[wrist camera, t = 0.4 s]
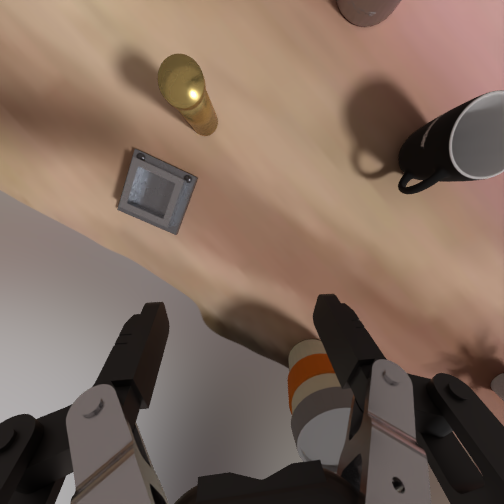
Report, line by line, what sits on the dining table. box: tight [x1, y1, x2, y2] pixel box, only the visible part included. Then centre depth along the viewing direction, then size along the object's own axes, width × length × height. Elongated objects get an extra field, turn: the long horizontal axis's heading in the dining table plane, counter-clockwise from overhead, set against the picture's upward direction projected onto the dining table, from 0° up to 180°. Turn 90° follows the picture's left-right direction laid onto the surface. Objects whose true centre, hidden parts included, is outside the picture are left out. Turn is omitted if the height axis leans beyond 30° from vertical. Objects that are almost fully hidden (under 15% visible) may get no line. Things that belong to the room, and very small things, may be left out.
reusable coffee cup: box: [288, 339, 354, 474], centre depth 34 cm, size 12×13×15 cm
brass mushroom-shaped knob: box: [158, 54, 218, 136], centre depth 26 cm, size 5×5×11 cm
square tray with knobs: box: [117, 149, 198, 235], centre depth 32 cm, size 10×10×3 cm
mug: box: [398, 90, 504, 194], centre depth 28 cm, size 12×9×10 cm
